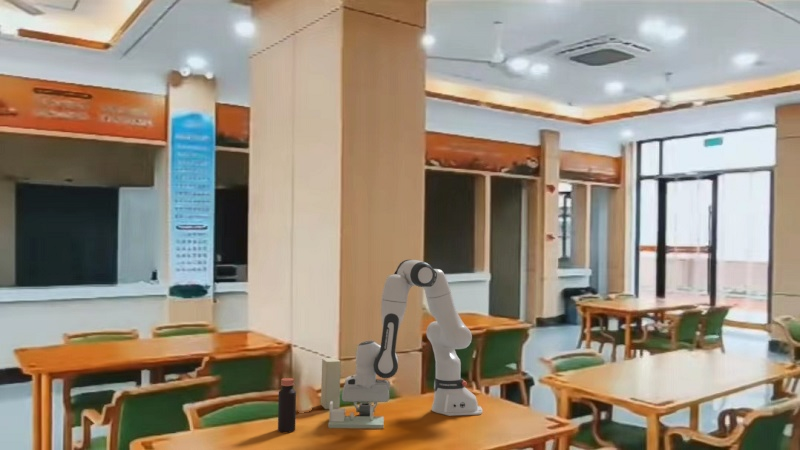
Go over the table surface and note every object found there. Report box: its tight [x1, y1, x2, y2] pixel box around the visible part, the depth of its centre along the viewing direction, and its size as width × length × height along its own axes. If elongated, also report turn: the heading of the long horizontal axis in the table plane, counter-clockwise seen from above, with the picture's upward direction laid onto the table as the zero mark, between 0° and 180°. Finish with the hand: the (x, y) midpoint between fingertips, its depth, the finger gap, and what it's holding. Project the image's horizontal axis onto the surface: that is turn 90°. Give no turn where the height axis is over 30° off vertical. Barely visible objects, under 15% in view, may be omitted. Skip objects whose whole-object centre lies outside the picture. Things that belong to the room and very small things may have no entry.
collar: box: [358, 402, 373, 416], centre depth 283 cm, size 5×5×5 cm
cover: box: [328, 401, 346, 422], centre depth 271 cm, size 6×5×7 cm
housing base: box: [327, 404, 385, 430], centre depth 271 cm, size 22×12×8 cm, turn 91°
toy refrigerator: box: [320, 357, 342, 410], centre depth 298 cm, size 8×7×21 cm
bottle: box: [277, 377, 297, 433], centre depth 261 cm, size 7×7×20 cm
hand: (365, 411), depth 283 cm, fingers closed on collar, 5 cm apart
